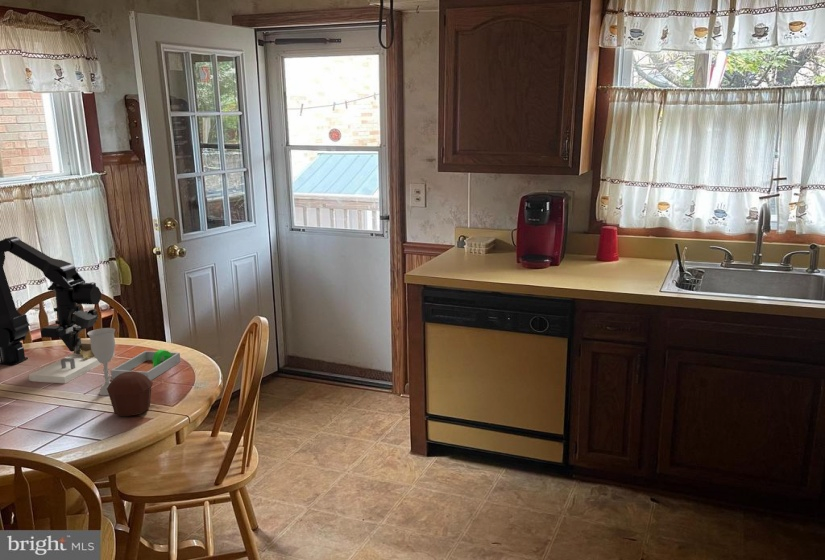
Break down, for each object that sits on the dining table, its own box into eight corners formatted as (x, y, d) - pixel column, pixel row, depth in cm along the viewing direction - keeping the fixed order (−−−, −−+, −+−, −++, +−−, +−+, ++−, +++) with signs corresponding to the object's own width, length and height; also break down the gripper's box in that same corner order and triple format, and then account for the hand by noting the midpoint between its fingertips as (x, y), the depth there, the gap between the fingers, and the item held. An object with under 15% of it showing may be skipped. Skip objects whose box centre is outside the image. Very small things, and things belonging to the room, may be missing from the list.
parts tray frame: (111, 379, 202) (110, 370, 202) (146, 359, 220) (145, 350, 219) (148, 382, 200) (147, 372, 200) (180, 361, 218) (179, 352, 217)
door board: (29, 381, 202) (27, 363, 201) (82, 355, 225) (80, 339, 224) (65, 383, 200) (63, 365, 199) (114, 356, 223) (113, 341, 222)
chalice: (116, 385, 198) (110, 326, 194) (126, 391, 193) (119, 331, 189) (90, 392, 193) (83, 331, 189) (99, 398, 188) (92, 336, 184)
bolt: (70, 357, 216) (68, 340, 214) (90, 347, 225) (88, 331, 224) (87, 358, 215) (85, 341, 213) (107, 348, 224) (105, 332, 223)
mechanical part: (166, 380, 208) (164, 355, 207) (154, 376, 211) (152, 352, 210) (197, 368, 218) (196, 345, 216) (185, 365, 221) (183, 342, 220)
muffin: (107, 406, 183) (103, 371, 181) (150, 397, 189) (147, 363, 186) (112, 421, 173) (108, 384, 171) (157, 412, 178) (154, 376, 176)
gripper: (69, 312, 201) (75, 362, 205) (108, 297, 219) (113, 343, 222) (36, 310, 203) (42, 360, 207) (77, 296, 221) (83, 342, 225)
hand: (72, 351), depth 215 cm, fingers closed
